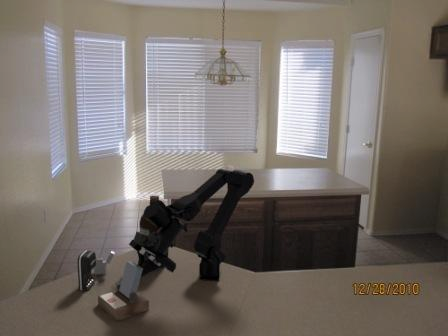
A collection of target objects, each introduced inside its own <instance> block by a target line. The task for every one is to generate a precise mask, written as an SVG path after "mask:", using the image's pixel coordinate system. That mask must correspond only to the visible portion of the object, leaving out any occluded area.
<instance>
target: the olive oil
mask: <svg viewBox="0 0 448 336" xmlns="http://www.w3.org/2000/svg"><path fill="white" fill-rule="evenodd" d="M157 200H160V196H159V195H150V196H149V205H150V204H151V203H154V202H156V201H157ZM138 225H139V232H142V233H146V234H152V232H156V233H157V231H158V230H159V229H160V228H157V227H155V226H154V225H153V224H152V223H151V222H150V221H148V220H147V219H146V218H145V217H144V214H143V213H142V215H141V217H140V220H139V224H138ZM169 249H170V247H169V248H168V250H167V251H166V252H165V254H164V255H166V256H167V257H169ZM155 255H156V254H155ZM160 267H161V268H160V269H162V268H165V267H164V266H163V265H162V264H161V265H160Z"/></svg>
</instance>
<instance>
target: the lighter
mask: <svg viewBox="0 0 448 336" xmlns="http://www.w3.org/2000/svg"><path fill="white" fill-rule="evenodd" d="M115 254H116V251H113V250H111V251H110V253H109V255H108V257H107V259H106V260H104V258H103V257H99V258H96V266H95V267H94V268H93V275H107V273H108V265H110V264H111V262H112V260H113V257H114V255H115Z"/></svg>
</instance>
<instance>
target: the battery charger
mask: <svg viewBox="0 0 448 336" xmlns="http://www.w3.org/2000/svg"><path fill="white" fill-rule="evenodd" d="M96 254H97V253H96V252H95V251H93V250H87V249H86V250H84V251H82V252H81V253H80V254H79V255H78V257H77V259H76V260H77V262H76V263H77V277H78V278H77V279H78V280H77V281H78V290H79V291H88V290H90V289H91V288H92V286H94V284H95V282H96V281H95V279H94V277H93V274H92V270H94V267H95V266H96V259H97V255H96Z"/></svg>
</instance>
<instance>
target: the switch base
mask: <svg viewBox="0 0 448 336" xmlns="http://www.w3.org/2000/svg"><path fill="white" fill-rule="evenodd" d="M120 285H121V282H118V283H115V289H112V290H109V291H106V292H103V293H100V294H97V303H98V304H97V305H99V306H100V308H102V309H103V310H104V311H105V312H106V313H108V314H109V315H110V316H111V317H112V318H113V319H114V320H116V321H117V322H120V321H122V320H125V319H128V318H131V317H133V316H137V315H139V314H142V313H145V312H147V311H150V300H149V299H148V298H146V297H145V296H143V295H142V294H141V293H139V292H138V291H137V292H136V293H132V294H129V298H128V297H126V296H125V295H124V294H122V293H121V292H120V291H119V288H120ZM111 292H112V293H113V294H114V295H115V296H117V297H118V298H119V299H120V300H122V301H123V302H124V303H126V306H123V307H120V308H117V309H114V308H113V307H112V306H110V305H109V304H108V303H107V302H106V301H104V300H103V299H102V298H101V297H100V296H101V295H105V294H108V293H111Z"/></svg>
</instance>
